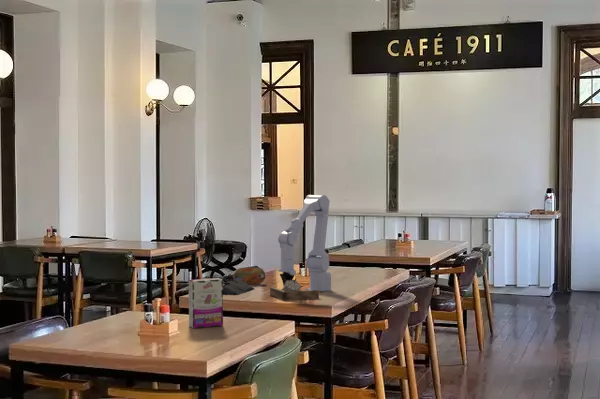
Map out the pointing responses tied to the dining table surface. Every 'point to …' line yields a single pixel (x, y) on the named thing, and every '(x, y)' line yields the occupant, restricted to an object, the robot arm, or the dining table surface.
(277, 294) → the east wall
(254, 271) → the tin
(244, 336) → the dining table surface
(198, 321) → the candy bar box
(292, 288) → the game die
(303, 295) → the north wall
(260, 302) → the dining table surface
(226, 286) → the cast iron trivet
